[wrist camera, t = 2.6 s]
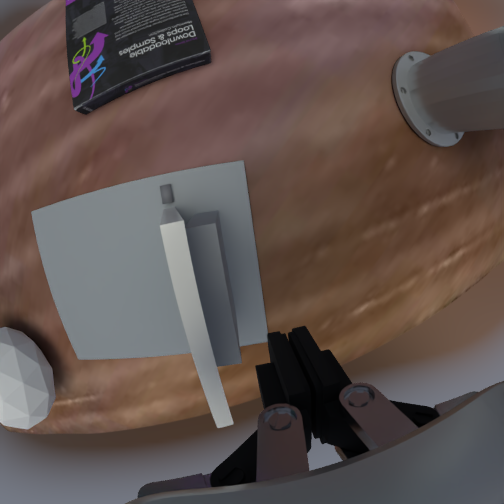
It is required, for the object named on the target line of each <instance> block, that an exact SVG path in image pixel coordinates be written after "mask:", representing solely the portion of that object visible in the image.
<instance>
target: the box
mask: <svg viewBox="0 0 504 504" xmlns="http://www.w3.org/2000/svg"><path fill="white" fill-rule="evenodd" d="M66 42H67V57H68V68H69V76H70V84H71V91H72V100H73V106H74V110H75V111H77V112H80V113H83V114H88V113H89V112H91V111H93V110H95V109H97V108H98V107H100V106H102V105H104V104H106V103H108V102H110V101H112V100H114V99H116V98H118V97H120V96H122V95H124V94H127V93H129V92H131V91H133V90H136V89H138V88H140V87H142V86H145V85H147V84H150V83H152V82H155V81H157V80H160V79H162V78H165V77H168V76H170V75H173V74H176V73H179V72H182V71H185V70H188V69H192V68H195V67H198V66H201V65H205V64H209V63H211V54H210V51H211V50H210V47H209V44H208V41H207V39H206V36H205V33H204V30H203V28H202V25H201V22H200V19H199V17H198V14H197V11H196V9H195V6H194V3H193V1H192V0H66Z"/></svg>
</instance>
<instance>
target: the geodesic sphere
mask: <svg viewBox="0 0 504 504" xmlns="http://www.w3.org/2000/svg"><path fill="white" fill-rule="evenodd" d="M55 398H56V395H55V388H54V380H53V370H52V367H51V366H50V364H49V363H48V361H47V359H46V358H45V356H44V354H43V353H42V351H41V350H40V348H39V347H38V346H37V345H36V344H35V343H34V341H33V340H31V339H30V338H29V337H28V336H26V335H25V334H24V333H23V332H22V331H18V330H15V329H11V328H8V327H3V328H0V422H1V423H2V424H3V425H5V426H10V427H16V428H22V429H29V428H31V427H32V426H34V425H36V424H37V423H39V422H40V421H42V420H43V419H45V418H46V417H47V416H48V414H49V411H50V409H51V407H52V405H53V403H54V400H55Z"/></svg>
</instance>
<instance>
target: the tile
mask: <svg viewBox="0 0 504 504" xmlns="http://www.w3.org/2000/svg"><path fill="white" fill-rule="evenodd" d="M160 229H161V234H162V239H163V244H164V249H165V253H166V258H167V262H168V267H169V271H170V276H171V280H172V284H173V288H174V292H175V296H176V300H177V304H178V307H179V311H180V315H181V319H182V322H183V326H184V329H185V333H186V336H187V340H188V343H189V346H190V350H191V353H192V356H193V359H194V362H195V366H196V369H197V372H198V375H199V378H200V381H201V384H202V387H203V390H204V392H205V395H206V398H207V401H208V404H209V406H210V409H211V412H212V414H213V417H214V420H215V422H216V425H217V427H218V428H221V427H225V426H228V425H232V424H233V420H232V417H231V414H230V410H229V407H228V404H227V401H226V397H225V394H224V390H223V387H222V384H221V380H220V377H219V373H218V369H217V366H216V362H215V358H214V355H213V351H212V347H211V343H210V339H209V335H208V331H207V327H206V323H205V319H204V315H203V311H202V307H201V302H200V298H199V294H198V289H197V285H196V280H195V275H194V271H193V266H192V261H191V256H190V251H189V246H188V241H187V235H186V230H185V225H184V220H183V219H182V217H181V216H180V214H179V213H178V211H177V210H176V208H175V207H169V208H165V209H163V212H162V217H161V222H160Z"/></svg>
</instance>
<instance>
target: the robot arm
mask: <svg viewBox="0 0 504 504" xmlns="http://www.w3.org/2000/svg"><path fill="white" fill-rule="evenodd" d="M392 84H393V89H394V94H395V97H396V100H397V103H398V106H399V108H400V110H401V112H402V114H403V116H404V117H405V119H406V121H407V122H408V124H409V125H410V126H411V128H412V129H413V130H414V131H415V132H416V133H417V134H418V135H419V136H420V137H421V138H422V139H424V140H425V141H426V142H428V143H430V144H432V145H434V146H438V147H448V146H453V145H455V144H456V143H458V142H459V140H460V139H461V138H462V136H463V134H464V132H469V131H480V130H492V129H504V26H502V27H500V28H497V29H494V30H491V31H488V32H485V33H483V34H480V35H478V36H475V37H473V38H470V39H468V40H465V41H463V42H460V43H458V44H456V45H453V46H451V47H449V48H447V49H444V50H442V51H440V52H438V53H436V54H433V55H431V56H430V55H428V54H425V53H423V52H417V51H415V52H409V53H406V54H404V55H403V56H401V57H400V58H399V59H398V60H397V61H396V63H395V65H394V68H393V74H392ZM288 338H289V341H288V339H287V337H286V334H285V333H284V334H281V333H280V331H278V332H273V333H268V334H267V340H268V347H269V354H270V361H271V363H267V364H262V365H256V372H257V378H258V383H259V388H260V393H261V398H262V402H263V406H264V410H263V411H262V412H261V413H260V415H259V417H258V429H257V430H256V431H255V432H254V433H253V434H252V435H251V436H250V437H249V438H248V439H247V440H246V441H245V442H244V443H243V444H242V445H241V446H240V447H239V448H238V449H237V450H236V451H234V452H233V453H232V454H231V455H230V456H229V457H228V458H227V459H226V460H225V461H223V463H221V464H220V465H219V466H218V467H217V468H216V469H215V470H214V471H213V472H212V473H210V474H207V475H202V473H200V474H196V475H191V476H187V477H182V478H176V479H171V480H165V481H159V482H152V483H149V484H146V485H144V486H143V487H141V488H140V490H139V492H138V498H137V499H135V500H132V501H130V502H128V503H126V504H504V381H503V382H499V383H496V384H494V385H492V386H489V387H488V388H485V389H483V390H482V391H480V392H470V393H467V394H465V395H462V396H459V397H457V398H455V399H451V400H449V401H446V402H443V403H440V404H437V405H435V407H434V408H431V407H427V406H421V405H415V404H408V403H402V402H396V401H391V400H388V399H387V398H386V397H385V396H384V395H383V394H381V392H379V390H377V389H376V388H375V387H374V386H372V385H370V384H367V383H354V384H352V382H351V381H350V379H349V378H348V376H347V375H346V373H345V372H344V370H343V369H342V367H341V366H340V364H339V363H338V361H337V360H336V358H335V357H334V355H333V354H332V352H331V351H330V350H324V351H320V349H319V347H318V346H317V344H316V342H315V341H314V339H313V338H312V336H311V334H310V333H309V331H308V329H307V328H306V326H301V327H297V328H293V329H292V332H289V333H288ZM311 433H313V436H314V438H315V439H316V438H320V441H321V443H322V444H324V443H328V444H331V445H334V446H335V450H336V452H337V453H338V455H339V456H340V458H341V459H342V460H343V461H341V462H338V463H335V464H332V465H329V466H325V467H322V468H319V469H315V470H311V471H309V464H308V458H307V453H308V452H309V450H310V449H311V439H312V437H311V435H312V434H311Z"/></svg>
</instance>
